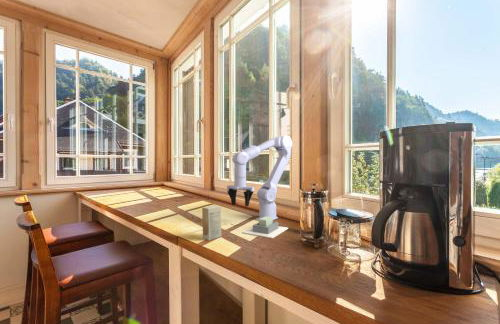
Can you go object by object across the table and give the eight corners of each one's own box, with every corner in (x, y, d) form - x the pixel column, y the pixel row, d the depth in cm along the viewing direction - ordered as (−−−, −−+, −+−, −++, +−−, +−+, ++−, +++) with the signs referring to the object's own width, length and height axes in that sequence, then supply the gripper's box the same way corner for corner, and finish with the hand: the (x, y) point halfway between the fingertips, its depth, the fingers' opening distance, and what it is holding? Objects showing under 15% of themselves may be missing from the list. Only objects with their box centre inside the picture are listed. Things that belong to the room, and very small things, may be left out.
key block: (258, 230, 106) (258, 219, 106) (265, 227, 112) (265, 216, 111) (266, 232, 105) (266, 220, 104) (272, 228, 110) (272, 217, 110)
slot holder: (260, 224, 119) (260, 218, 118) (288, 228, 111) (288, 221, 111) (242, 233, 105) (242, 225, 105) (272, 238, 98) (272, 230, 98)
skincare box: (215, 234, 103) (215, 204, 103) (221, 237, 100) (221, 206, 100) (201, 238, 98) (201, 207, 98) (208, 240, 95) (208, 208, 95)
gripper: (223, 177, 122) (223, 205, 122) (248, 178, 114) (248, 208, 115) (231, 176, 128) (231, 202, 128) (256, 177, 121) (256, 205, 121)
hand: (240, 205), depth 122 cm, fingers open, 7 cm apart
